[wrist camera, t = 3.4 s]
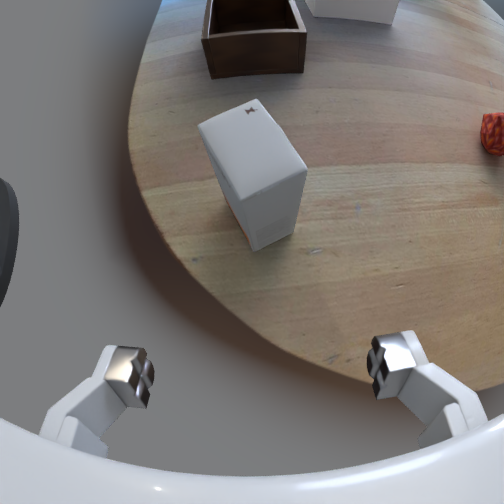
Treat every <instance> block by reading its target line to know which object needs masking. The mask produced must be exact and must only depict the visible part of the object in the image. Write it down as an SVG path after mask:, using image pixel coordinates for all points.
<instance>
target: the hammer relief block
mask: <svg viewBox="0 0 504 504" xmlns="http://www.w3.org/2000/svg"><path fill="white" fill-rule="evenodd" d="M305 2H306V4H307V5H308V7H309V9H310V11H311V13H312V15H313V16H314V17H329V18H343V19H353V20H362V21H370V22H377V23H383V24H389V25H392V23H393V19H394V16H395V13H396V10H397V6H398V3H399V0H305Z"/></svg>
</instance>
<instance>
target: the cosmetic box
mask: <svg viewBox="0 0 504 504" xmlns="http://www.w3.org/2000/svg"><path fill="white" fill-rule="evenodd" d="M198 129H199V132H200V134H201V137H202V140H203V143H204V145H205V148H206V150H207V153H208V155H209V158H210V161H211V163H212V166H213V169H214V171H215V174H216V176H217V179H218V182H219V184H220V187H221V189H222V192H223V195H224V197H225V200H226V202H227V203H228V205H229V207H230V209H231V211H232V212H233V214H234V216H235V218H236V220H237V222H238V223H239V225H240V227H241V229H242V231H243V233H244V235H245V236H246V238H247V240H248V242H249V244H250V246H251V248H252V250H253V252H256V251H258V250H260V249H262V248H263V247H265V246H267V245H269V244H271V243H273V242H275V241H277V240H279V239H281V238H283V237H285V236H287V235H289V234H291V233H293V232H294V228H295V224H296V219H297V215H298V210H299V206H300V202H301V197H302V193H303V188H304V184H305V180H306V176H307V171H308V169H307V166H306V165H305V163H304V162H303V160H302V159H301V157H300V156H299V155H298V153H297V152H296V150H295V149H294V147H293V146H292V145H291V143H290V142H289V140H288V139H287V137H286V135H285V133H284V132H283V130H282V129H281V128H280V126H279V125H278V124H277V123H276V122H275V121H274V120H273V118H272V117H271V116H270V114H269V113H268V112H267V111H266V109H265V108H264V107H263V105H262V104H261V103H260V102H259V100H257V99H254V100H252V101H250V102H247V103H245V104H242V105H240V106H238V107H235V108H233V109H231V110H228V111H226V112H224V113H221V114H219V115H217V116H215V117H212V118H210V119H208V120H206V121H204V122H202V123H200V124H199V125H198Z"/></svg>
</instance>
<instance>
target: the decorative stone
mask: <svg viewBox="0 0 504 504" xmlns="http://www.w3.org/2000/svg"><path fill="white" fill-rule="evenodd" d="M480 133H481V143H482V144H483V146H484V147H485V149H486V150H487V151H488V152H489V153H490V154H493V155H497V156H502V155H504V113H491V114H484V115H483V121H482V127H481V132H480Z"/></svg>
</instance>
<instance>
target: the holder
mask: <svg viewBox="0 0 504 504" xmlns="http://www.w3.org/2000/svg"><path fill="white" fill-rule="evenodd" d="M306 39H307V31H306V28H305V26H304V23H303V21H302V18H301V16H300V13H299V11H298V8H297V6H296V3H295V1H294V0H207V4H206V10H205V17H204V24H203V30H202V38H201V41H202V45H203V49H204V53H205V57H206V61H207V65H208V69H209V73H210V77H211V79H217V78H226V77H235V76H246V75H260V74H281V73H303V72H304V62H305V51H306Z"/></svg>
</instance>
